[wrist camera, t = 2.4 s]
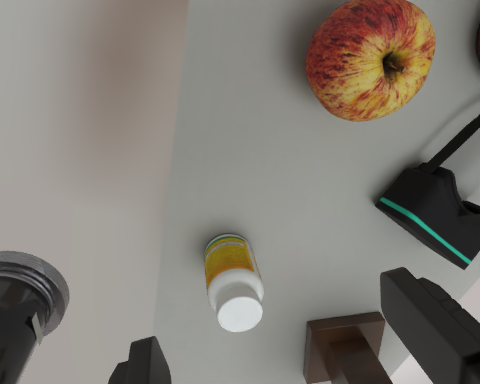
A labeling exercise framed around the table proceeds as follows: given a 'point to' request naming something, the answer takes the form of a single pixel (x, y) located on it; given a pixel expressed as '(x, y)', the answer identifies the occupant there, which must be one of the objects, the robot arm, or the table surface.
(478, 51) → the vase
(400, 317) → the robot arm
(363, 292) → the table surface
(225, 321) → the supplement bottle
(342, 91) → the apple
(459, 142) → the virtual reality headset
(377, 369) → the pedestal column
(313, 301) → the table surface
